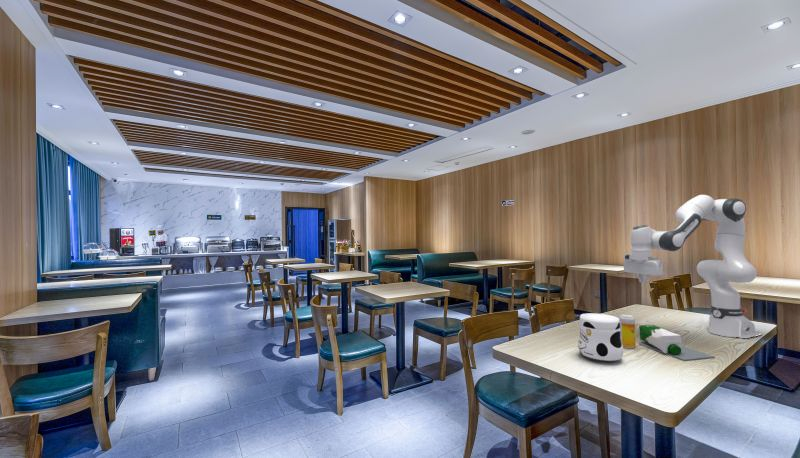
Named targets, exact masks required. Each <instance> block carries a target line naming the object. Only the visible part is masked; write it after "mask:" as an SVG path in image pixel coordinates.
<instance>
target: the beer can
mask: <svg viewBox="0 0 800 458" xmlns="http://www.w3.org/2000/svg"><path fill="white" fill-rule="evenodd" d="M635 320H636V319H635V317H634V315H631V314H620V315H619V321H620V338H621V343H622V346H623V349H629V350H631V349H632V350H633V349H635V348H636V324H635V323H636V321H635Z"/></svg>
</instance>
